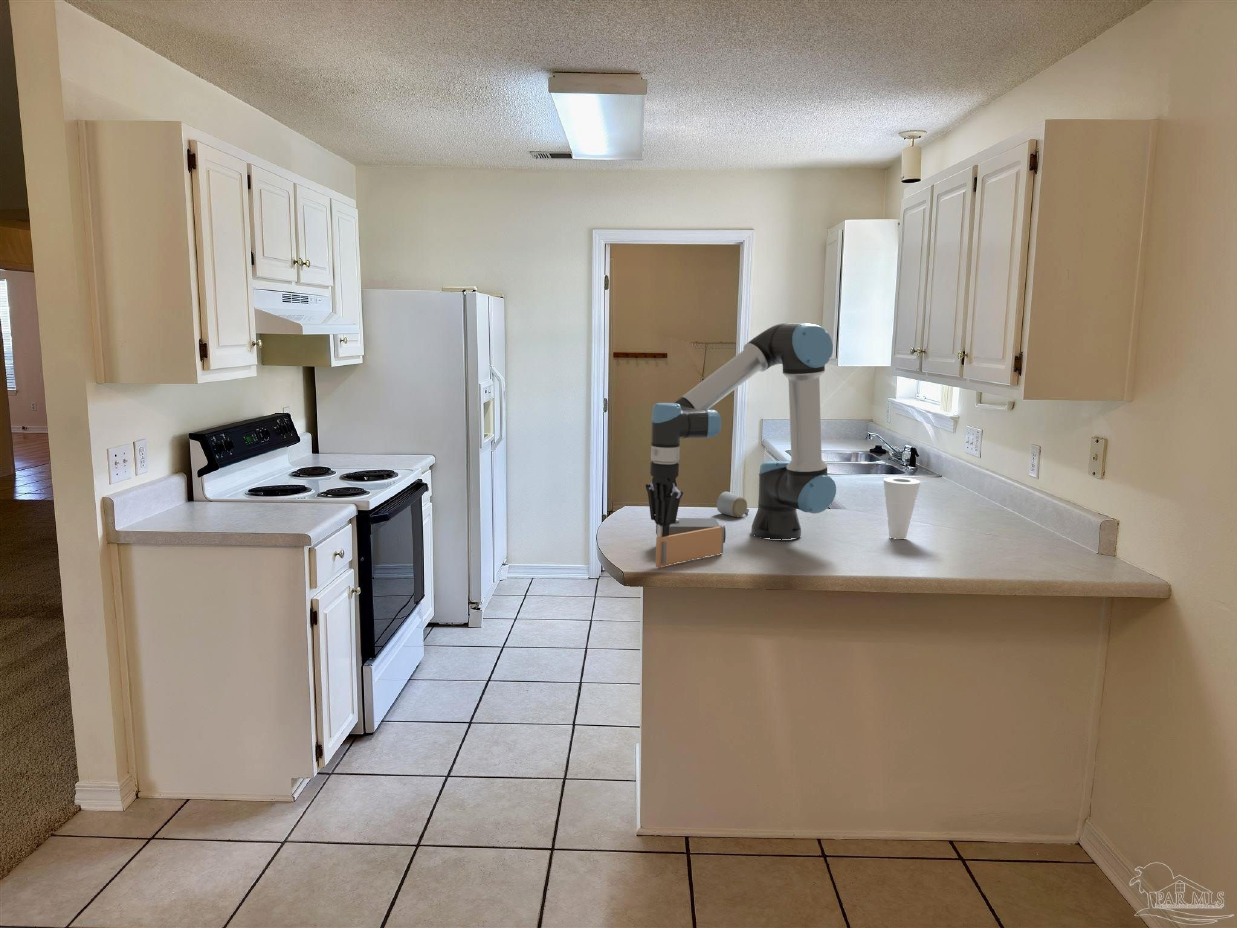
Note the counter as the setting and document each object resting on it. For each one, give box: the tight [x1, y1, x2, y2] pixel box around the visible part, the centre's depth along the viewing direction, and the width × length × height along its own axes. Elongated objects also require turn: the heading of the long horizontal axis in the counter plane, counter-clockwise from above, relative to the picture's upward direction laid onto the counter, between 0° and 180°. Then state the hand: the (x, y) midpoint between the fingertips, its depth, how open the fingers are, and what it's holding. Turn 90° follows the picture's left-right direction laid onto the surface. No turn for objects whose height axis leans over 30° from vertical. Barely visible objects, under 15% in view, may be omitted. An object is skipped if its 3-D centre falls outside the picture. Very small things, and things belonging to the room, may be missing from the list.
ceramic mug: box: [716, 491, 750, 518], centre depth 283 cm, size 11×8×8 cm
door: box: [655, 525, 725, 568], centre depth 227 cm, size 24×2×8 cm, turn 126°
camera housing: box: [669, 517, 727, 544], centre depth 240 cm, size 18×10×9 cm, turn 92°
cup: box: [883, 476, 921, 539], centre depth 255 cm, size 11×11×18 cm
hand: (662, 547), depth 225 cm, fingers closed
